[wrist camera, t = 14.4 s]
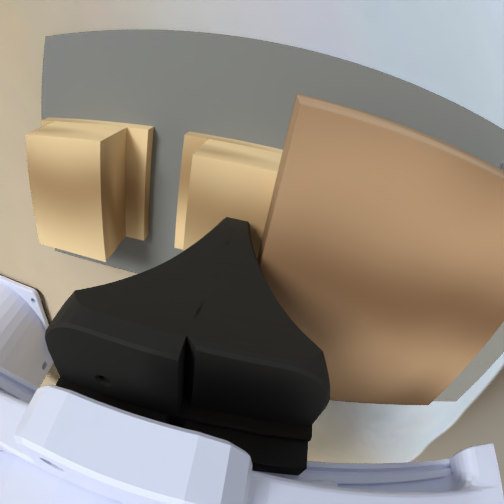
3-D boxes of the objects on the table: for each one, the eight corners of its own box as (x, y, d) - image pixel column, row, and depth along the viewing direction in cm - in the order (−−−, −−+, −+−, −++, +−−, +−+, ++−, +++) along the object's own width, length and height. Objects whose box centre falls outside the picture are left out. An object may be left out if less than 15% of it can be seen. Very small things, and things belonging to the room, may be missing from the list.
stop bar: (435, 334, 17) (455, 401, 13) (410, 330, 17) (428, 400, 13) (525, 176, 11) (585, 227, 7) (500, 162, 11) (564, 212, 7)
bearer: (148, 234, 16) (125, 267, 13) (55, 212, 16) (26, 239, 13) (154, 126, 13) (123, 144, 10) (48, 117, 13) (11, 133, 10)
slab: (418, 365, 15) (428, 404, 13) (237, 339, 15) (229, 385, 13) (530, 185, 9) (566, 216, 7) (296, 92, 9) (299, 104, 7)
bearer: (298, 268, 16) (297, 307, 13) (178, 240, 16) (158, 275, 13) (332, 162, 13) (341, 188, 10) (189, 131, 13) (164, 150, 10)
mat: (456, 333, 18) (457, 338, 17) (58, 246, 18) (55, 250, 17) (551, 162, 11) (555, 165, 10) (50, 36, 10) (45, 36, 10)
